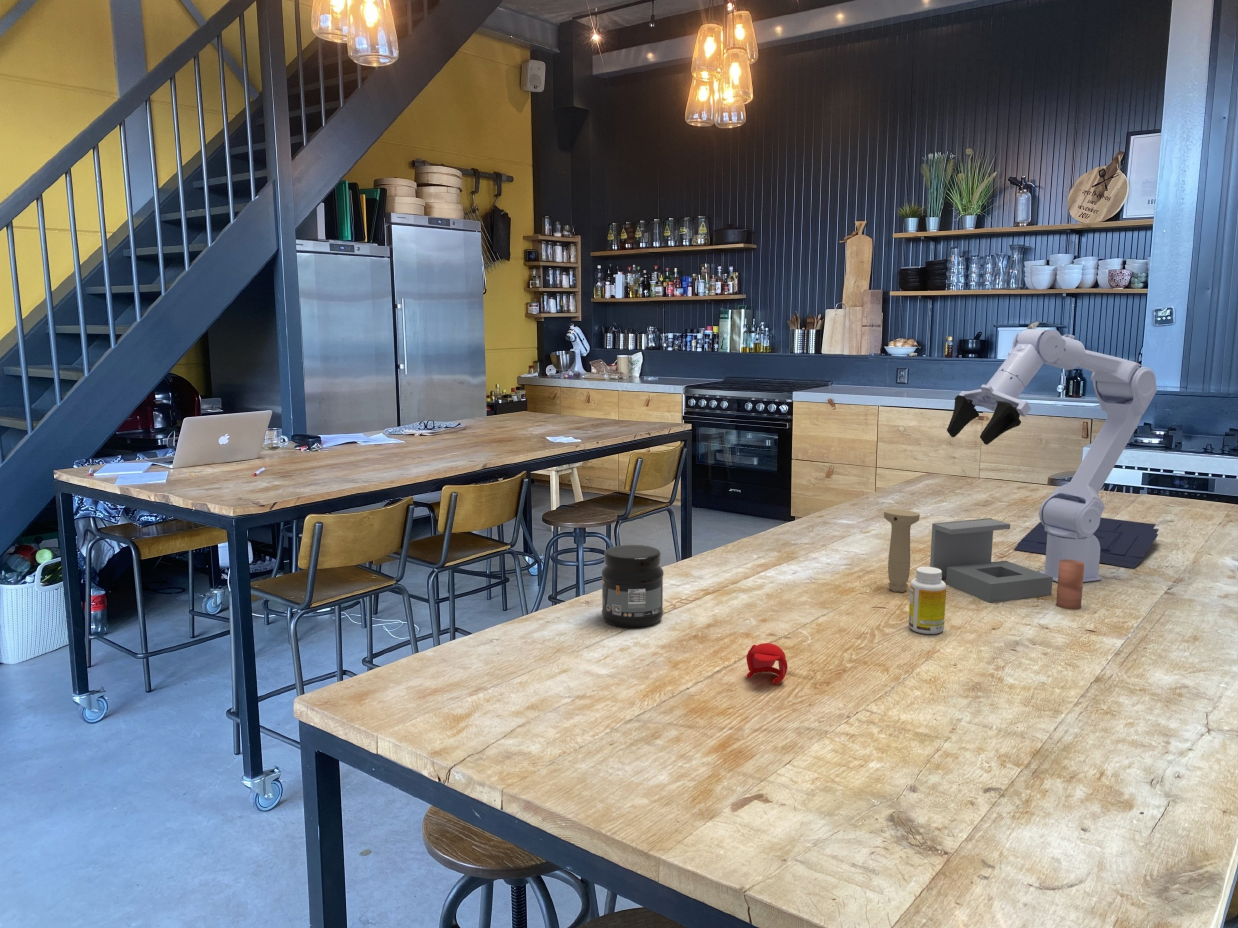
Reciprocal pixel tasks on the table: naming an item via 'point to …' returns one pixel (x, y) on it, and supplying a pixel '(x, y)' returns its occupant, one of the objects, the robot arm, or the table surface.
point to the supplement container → (632, 586)
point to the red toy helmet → (766, 660)
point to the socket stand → (982, 563)
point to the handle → (899, 547)
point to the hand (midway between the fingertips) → (966, 437)
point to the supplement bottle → (927, 601)
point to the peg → (1070, 584)
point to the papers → (1105, 541)
